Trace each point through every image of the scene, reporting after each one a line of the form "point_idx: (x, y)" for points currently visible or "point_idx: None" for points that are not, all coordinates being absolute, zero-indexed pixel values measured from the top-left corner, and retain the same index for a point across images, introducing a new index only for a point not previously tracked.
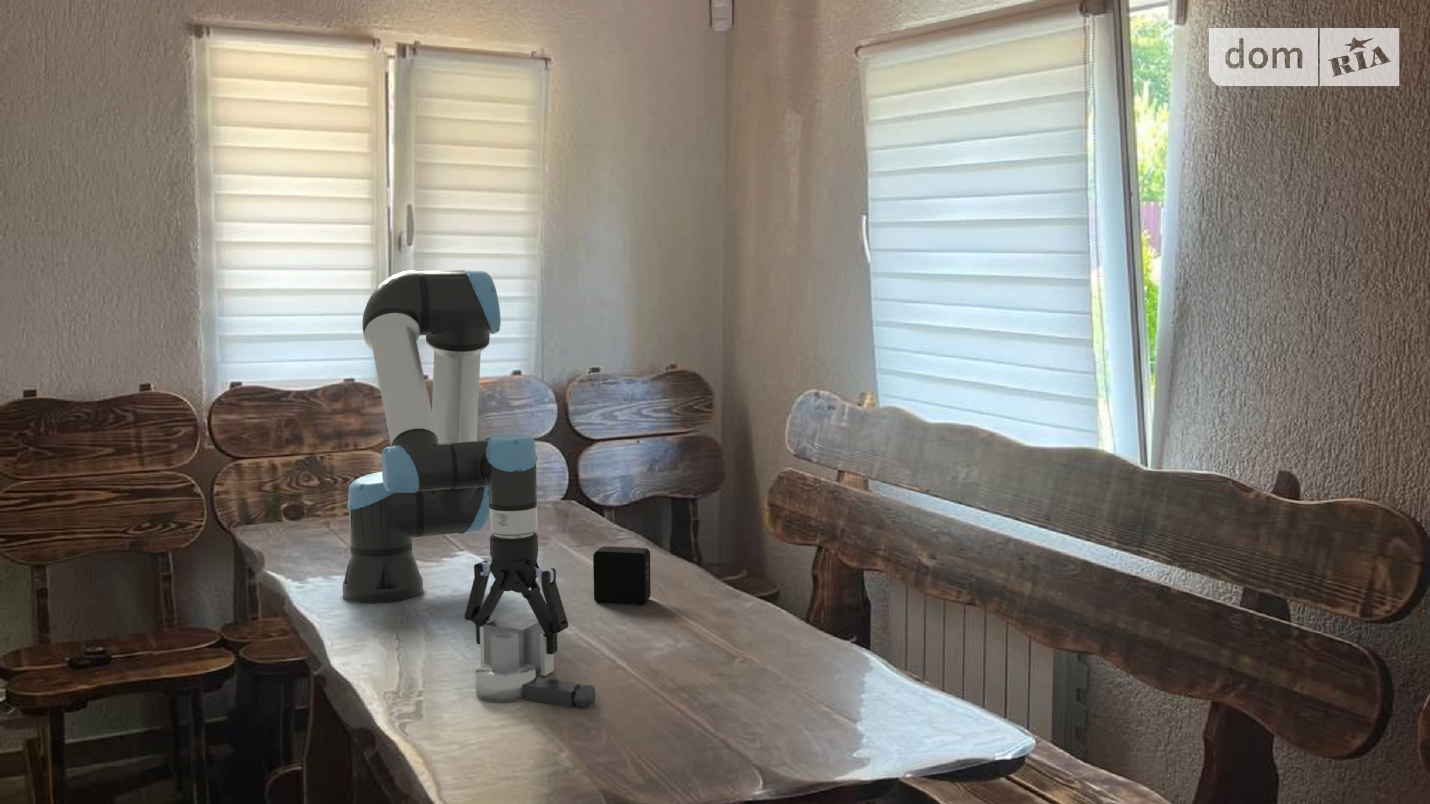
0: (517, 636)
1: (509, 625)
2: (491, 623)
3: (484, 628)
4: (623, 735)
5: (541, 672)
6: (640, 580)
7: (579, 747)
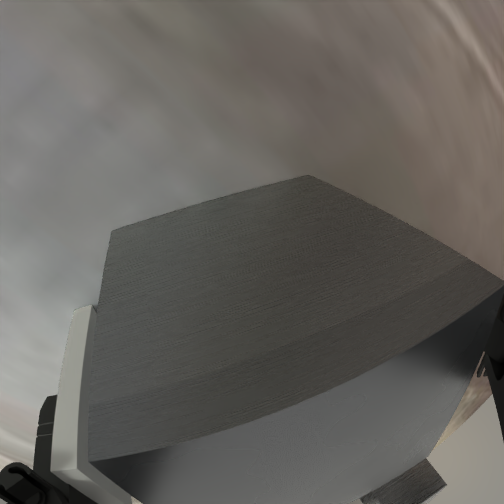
0: (440, 480)
1: (345, 496)
2: None
3: (128, 499)
4: None
5: None
6: None
7: (480, 377)
